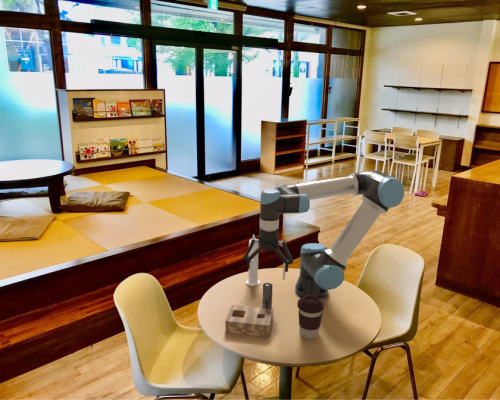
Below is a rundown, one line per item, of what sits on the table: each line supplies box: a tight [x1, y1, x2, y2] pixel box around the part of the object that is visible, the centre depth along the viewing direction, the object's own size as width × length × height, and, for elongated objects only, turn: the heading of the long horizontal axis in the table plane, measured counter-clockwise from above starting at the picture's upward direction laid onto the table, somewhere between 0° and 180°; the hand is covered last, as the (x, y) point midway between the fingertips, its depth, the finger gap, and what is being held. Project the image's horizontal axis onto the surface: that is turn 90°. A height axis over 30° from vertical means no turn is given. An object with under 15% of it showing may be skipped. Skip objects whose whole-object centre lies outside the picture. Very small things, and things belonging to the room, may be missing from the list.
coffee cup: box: [297, 295, 325, 340], centre depth 161 cm, size 10×10×15 cm
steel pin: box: [261, 282, 273, 309], centre depth 175 cm, size 4×4×13 cm
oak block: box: [224, 304, 274, 338], centre depth 167 cm, size 17×12×5 cm
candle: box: [245, 234, 261, 287], centre depth 199 cm, size 7×7×25 cm
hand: (267, 277), depth 172 cm, fingers open, 13 cm apart
